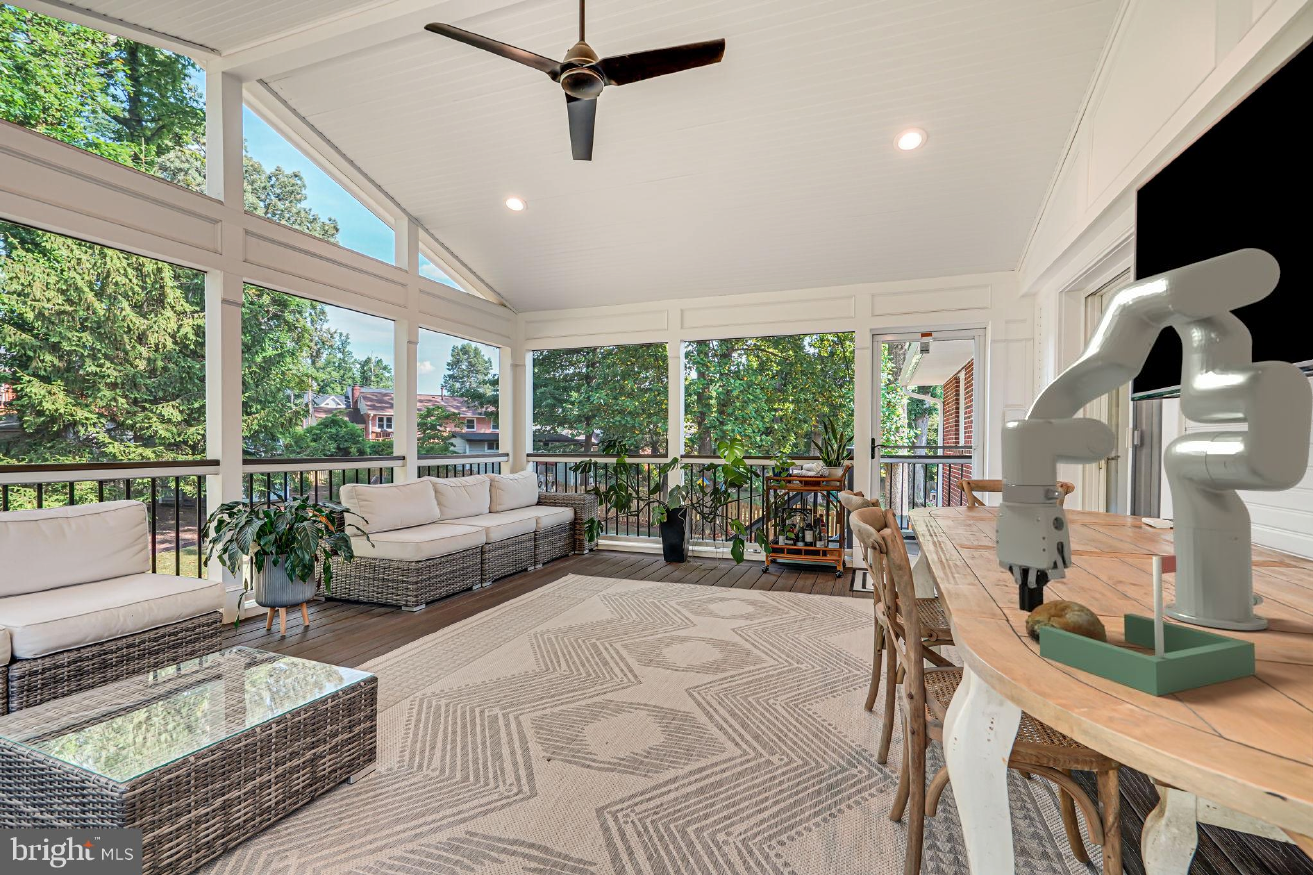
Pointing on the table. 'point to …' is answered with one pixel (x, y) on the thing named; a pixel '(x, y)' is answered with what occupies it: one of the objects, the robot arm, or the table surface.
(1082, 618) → the bread roll
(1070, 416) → the robot arm
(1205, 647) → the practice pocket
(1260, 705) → the table surface
